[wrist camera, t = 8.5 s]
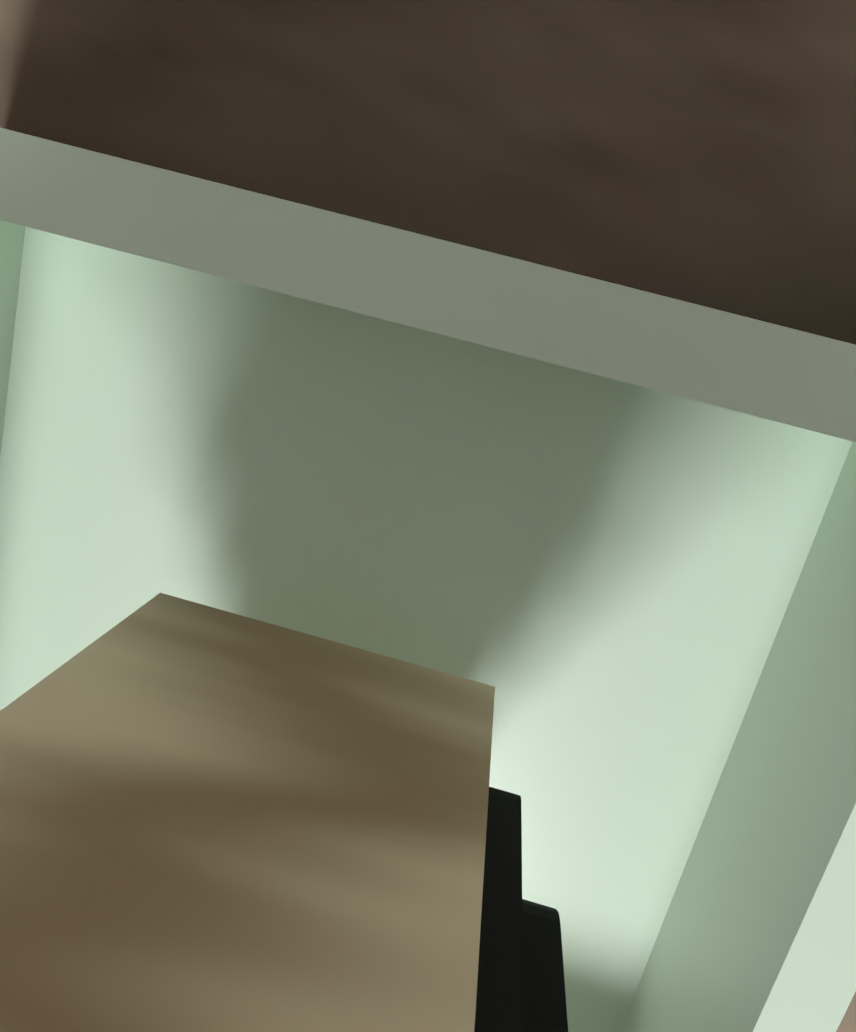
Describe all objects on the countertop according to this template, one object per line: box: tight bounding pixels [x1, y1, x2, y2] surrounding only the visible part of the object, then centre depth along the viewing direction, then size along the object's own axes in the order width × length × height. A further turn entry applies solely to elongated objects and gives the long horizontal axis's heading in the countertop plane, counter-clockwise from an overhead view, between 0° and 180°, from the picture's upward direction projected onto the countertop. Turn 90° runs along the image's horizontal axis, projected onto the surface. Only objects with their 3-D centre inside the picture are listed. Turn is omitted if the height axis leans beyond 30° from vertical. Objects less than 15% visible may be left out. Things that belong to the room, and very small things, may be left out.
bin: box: [0, 128, 856, 1032], centre depth 13 cm, size 16×16×4 cm
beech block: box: [0, 593, 495, 1032], centre depth 8 cm, size 5×5×7 cm
